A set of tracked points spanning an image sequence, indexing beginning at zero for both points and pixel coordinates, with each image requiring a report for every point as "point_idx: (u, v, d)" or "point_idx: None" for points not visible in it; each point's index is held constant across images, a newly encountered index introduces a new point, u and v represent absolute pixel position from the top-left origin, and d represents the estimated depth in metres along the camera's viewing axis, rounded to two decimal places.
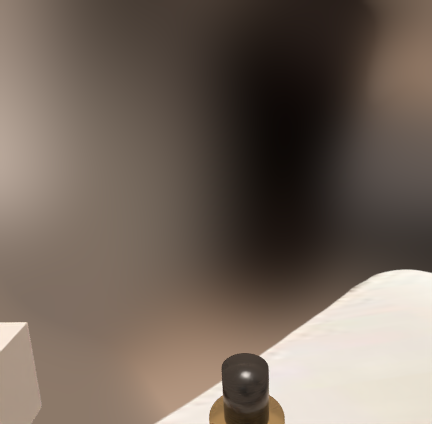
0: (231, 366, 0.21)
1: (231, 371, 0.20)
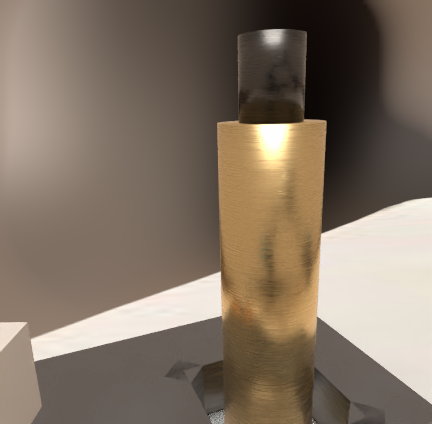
0: None
1: None
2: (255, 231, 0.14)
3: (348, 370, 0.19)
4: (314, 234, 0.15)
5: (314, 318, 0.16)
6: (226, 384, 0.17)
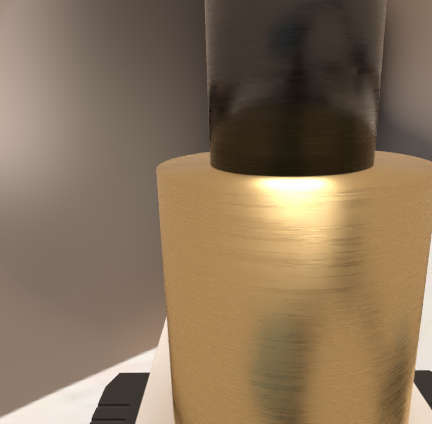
0: None
1: None
2: None
3: None
4: None
5: None
6: None
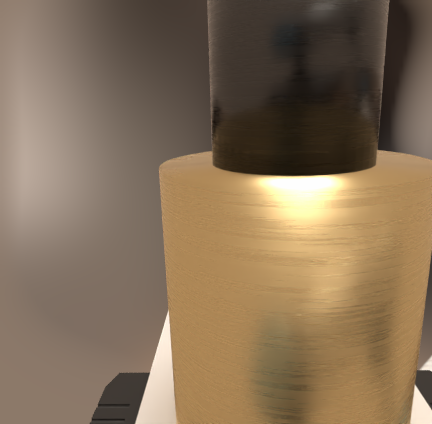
0: None
1: None
2: None
3: None
4: None
5: None
6: None
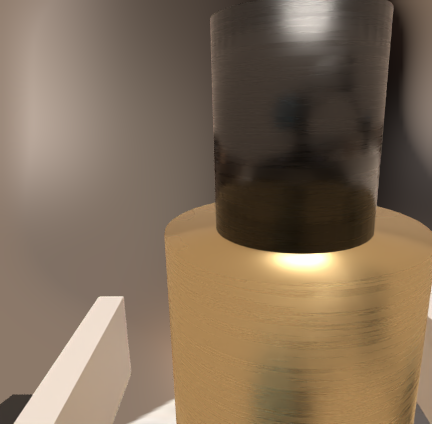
0: None
1: None
2: None
3: None
4: None
5: None
6: None
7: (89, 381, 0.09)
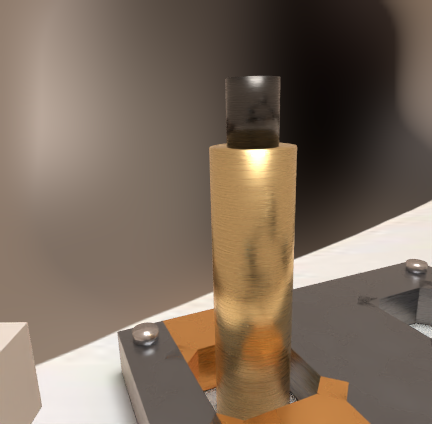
0: None
1: None
2: (240, 234, 0.18)
3: None
4: (288, 237, 0.18)
5: (289, 306, 0.19)
6: (217, 362, 0.21)
7: None
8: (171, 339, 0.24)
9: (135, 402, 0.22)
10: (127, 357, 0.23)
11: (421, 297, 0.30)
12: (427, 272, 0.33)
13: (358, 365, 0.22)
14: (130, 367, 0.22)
